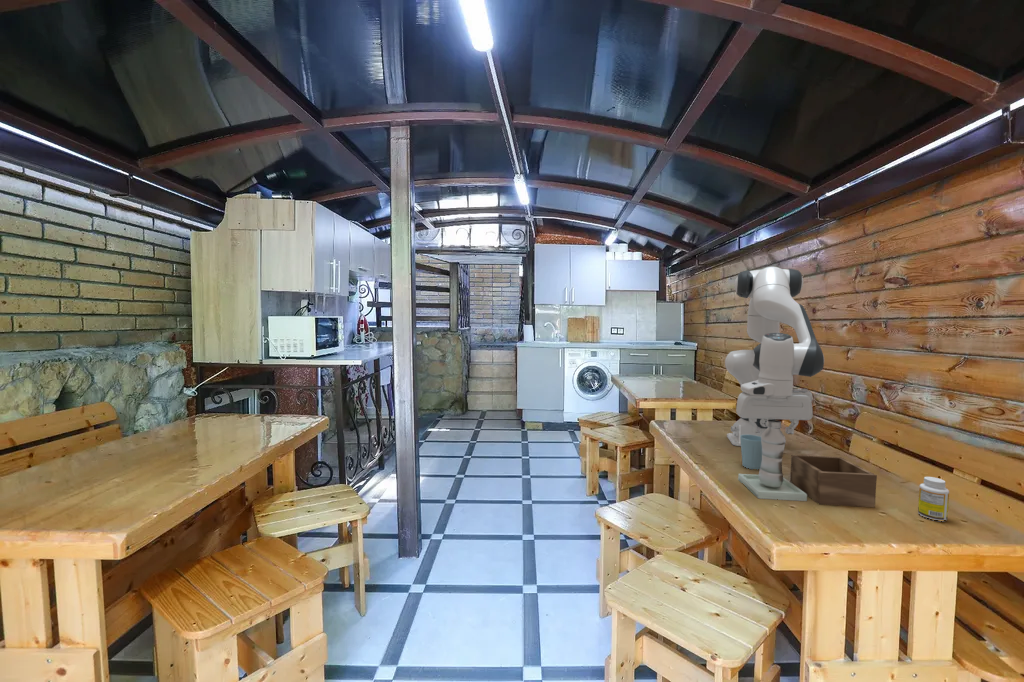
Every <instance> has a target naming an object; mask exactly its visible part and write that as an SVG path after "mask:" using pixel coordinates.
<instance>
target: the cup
mask: <svg viewBox="0 0 1024 682" xmlns="http://www.w3.org/2000/svg"><path fill="white" fill-rule="evenodd" d="M740 439H741V446H740V448H741V451H740V452H741V463H742V467H743V466H744V467H743V468H745V467H746V469H748V468H749V470H753V469H757V470H758V469H759V470H760V468H761V461H762V443H761V437H760V436H756V435H741V436H740Z"/></svg>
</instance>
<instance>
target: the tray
mask: <svg viewBox="0 0 1024 682" xmlns="http://www.w3.org/2000/svg"><path fill="white" fill-rule="evenodd" d="M758 475H759V474H756V473H755V474H754V473H752V474H751V473H750V474H749V473H738V476H737V480H738V481H739V482H740V483H741V484H742V483H743V484H744V485H745V486H746V487H747V490H748V491H750V492H751V493H752V494H753V495H754V496H755V497H756V498H757V499H760V500H761V499H762V500H763V499H764V500H777V499H778V500H779V501H780V500H781V501H798V502H799V501H800V502H807V500H808V496H807V494H806V493H805V492H803V491H802V490H800V489H799V488H798V487H796V486H795V485H794V484H792V483H791V482H790V480H788V479H787V478H785V477H784V476H783V484H782V485H781V486H780V487H779V488H772V487H768V486H765V485H763V484H761V483H760V481H759V476H758ZM743 484H742V485H743ZM744 485H743V486H744ZM745 486H744V487H745ZM746 487H745V488H746Z"/></svg>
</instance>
